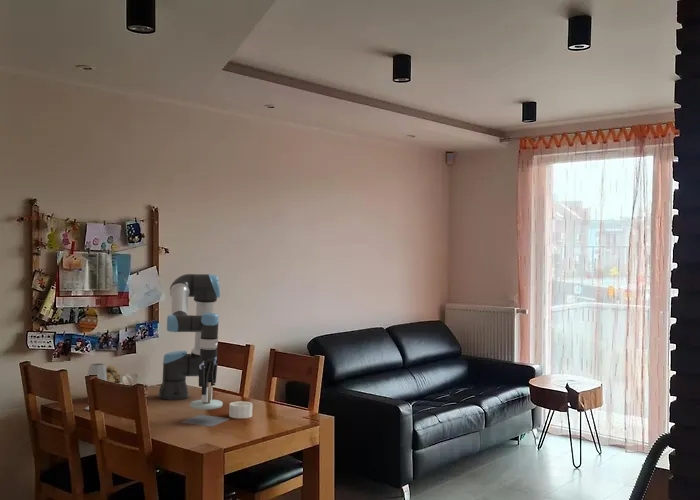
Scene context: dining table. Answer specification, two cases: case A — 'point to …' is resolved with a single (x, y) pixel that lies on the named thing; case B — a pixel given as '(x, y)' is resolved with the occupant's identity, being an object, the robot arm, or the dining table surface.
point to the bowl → (240, 409)
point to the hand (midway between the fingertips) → (206, 400)
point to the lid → (207, 405)
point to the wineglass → (97, 372)
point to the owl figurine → (112, 374)
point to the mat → (205, 420)
